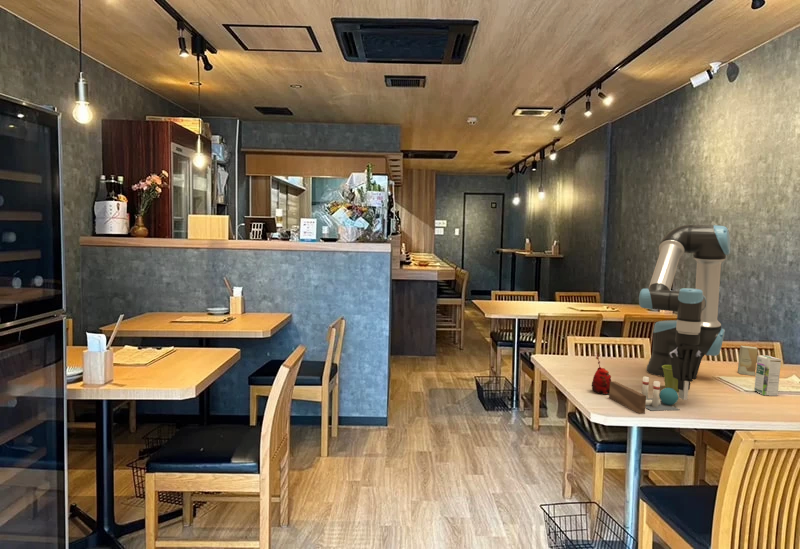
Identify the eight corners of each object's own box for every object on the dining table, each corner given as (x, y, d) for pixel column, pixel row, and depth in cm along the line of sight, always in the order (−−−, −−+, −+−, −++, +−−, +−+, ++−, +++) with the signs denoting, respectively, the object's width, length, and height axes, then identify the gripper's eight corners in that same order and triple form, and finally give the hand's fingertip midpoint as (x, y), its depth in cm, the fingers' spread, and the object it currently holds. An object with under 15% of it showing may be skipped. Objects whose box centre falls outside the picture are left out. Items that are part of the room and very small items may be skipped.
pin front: (659, 398, 194) (636, 399, 192) (661, 404, 193) (638, 405, 191) (656, 400, 195) (633, 400, 194) (657, 406, 194) (634, 406, 193)
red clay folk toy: (611, 396, 204) (613, 355, 203) (591, 393, 206) (593, 353, 205) (611, 391, 211) (613, 351, 210) (591, 388, 213) (593, 349, 212)
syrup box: (753, 391, 218) (756, 355, 217) (767, 391, 218) (770, 355, 217) (764, 395, 212) (767, 358, 211) (778, 396, 213) (781, 358, 212)
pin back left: (655, 406, 193) (657, 380, 192) (659, 408, 191) (661, 382, 190) (650, 406, 192) (652, 380, 192) (654, 408, 190) (656, 382, 190)
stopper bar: (614, 397, 202) (615, 381, 201) (644, 413, 184) (646, 395, 184) (609, 397, 202) (610, 381, 201) (639, 413, 184) (640, 395, 183)
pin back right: (645, 401, 199) (646, 376, 198) (648, 403, 197) (650, 377, 196) (639, 401, 198) (641, 376, 198) (643, 403, 196) (645, 377, 196)
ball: (656, 385, 197) (654, 402, 198) (668, 390, 192) (666, 407, 192) (671, 385, 199) (669, 402, 199) (683, 390, 193) (681, 407, 193)
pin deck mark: (655, 398, 202) (655, 398, 202) (679, 410, 190) (680, 409, 190) (628, 399, 200) (628, 398, 200) (650, 410, 187) (651, 410, 187)
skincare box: (739, 374, 247) (741, 346, 246) (737, 372, 251) (739, 345, 251) (755, 376, 245) (758, 348, 244) (753, 373, 249) (756, 346, 248)
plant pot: (676, 394, 210) (678, 371, 210) (655, 387, 219) (656, 365, 218) (692, 391, 215) (694, 369, 214) (670, 385, 223) (672, 364, 222)
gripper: (696, 330, 200) (691, 395, 202) (664, 330, 198) (659, 396, 199) (712, 334, 193) (706, 401, 194) (678, 334, 190) (673, 402, 192)
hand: (682, 398), depth 197 cm, fingers closed
